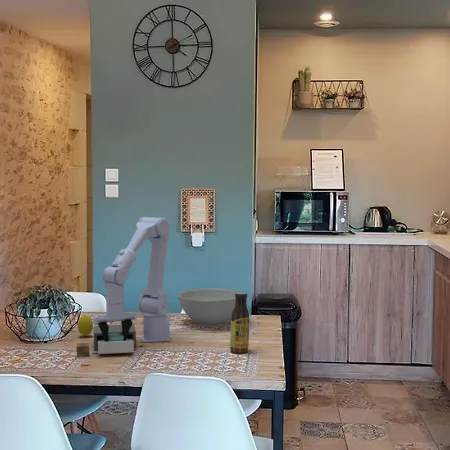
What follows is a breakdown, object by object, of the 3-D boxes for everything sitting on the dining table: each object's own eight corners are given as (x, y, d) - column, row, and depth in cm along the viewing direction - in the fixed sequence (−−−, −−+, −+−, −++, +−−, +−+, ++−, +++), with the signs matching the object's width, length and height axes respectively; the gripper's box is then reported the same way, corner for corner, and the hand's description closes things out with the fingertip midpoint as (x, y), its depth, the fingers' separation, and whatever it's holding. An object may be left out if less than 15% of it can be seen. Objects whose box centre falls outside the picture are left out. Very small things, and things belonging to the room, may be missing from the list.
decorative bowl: (164, 323, 258) (164, 293, 257) (214, 314, 276) (214, 285, 275) (208, 335, 238) (208, 303, 238) (259, 324, 256) (259, 294, 256)
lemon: (89, 338, 234) (89, 317, 233) (75, 338, 235) (74, 316, 234) (95, 335, 239) (95, 313, 238) (81, 334, 240) (81, 313, 239)
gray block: (133, 340, 231) (133, 324, 231) (135, 348, 221) (135, 331, 220) (93, 342, 229) (93, 325, 228) (94, 350, 218) (93, 333, 217)
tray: (131, 344, 221) (131, 333, 221) (133, 352, 212) (133, 341, 212) (97, 346, 219) (97, 335, 219) (98, 353, 210) (98, 342, 209)
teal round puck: (126, 342, 215) (126, 336, 215) (110, 344, 212) (110, 338, 212) (119, 338, 219) (120, 332, 219) (104, 340, 217) (104, 334, 216)
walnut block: (89, 353, 215) (89, 342, 214) (89, 356, 211) (89, 346, 210) (77, 353, 214) (76, 343, 214) (76, 357, 210) (76, 346, 210)
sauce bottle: (235, 354, 213) (235, 295, 212) (226, 350, 219) (226, 292, 217) (252, 352, 216) (253, 293, 215) (243, 348, 222) (243, 290, 220)
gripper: (131, 298, 221) (132, 337, 222) (90, 302, 215) (90, 342, 216) (138, 302, 215) (139, 342, 216) (96, 306, 208) (96, 347, 210)
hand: (115, 342), depth 216 cm, fingers closed on teal round puck, 5 cm apart
